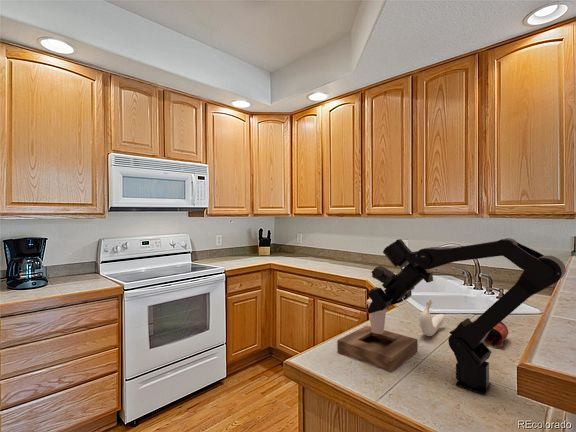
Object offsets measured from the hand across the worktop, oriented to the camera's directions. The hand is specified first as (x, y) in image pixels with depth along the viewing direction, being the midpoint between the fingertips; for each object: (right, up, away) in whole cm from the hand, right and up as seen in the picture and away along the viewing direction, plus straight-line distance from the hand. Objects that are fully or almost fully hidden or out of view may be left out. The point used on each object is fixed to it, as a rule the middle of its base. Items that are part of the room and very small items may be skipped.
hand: (373, 309), depth 99 cm
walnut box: (+1, -13, -1) cm, 13 cm away
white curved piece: (+25, -13, +14) cm, 31 cm away
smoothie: (+1, -7, -1) cm, 7 cm away
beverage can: (+43, -13, +7) cm, 45 cm away
